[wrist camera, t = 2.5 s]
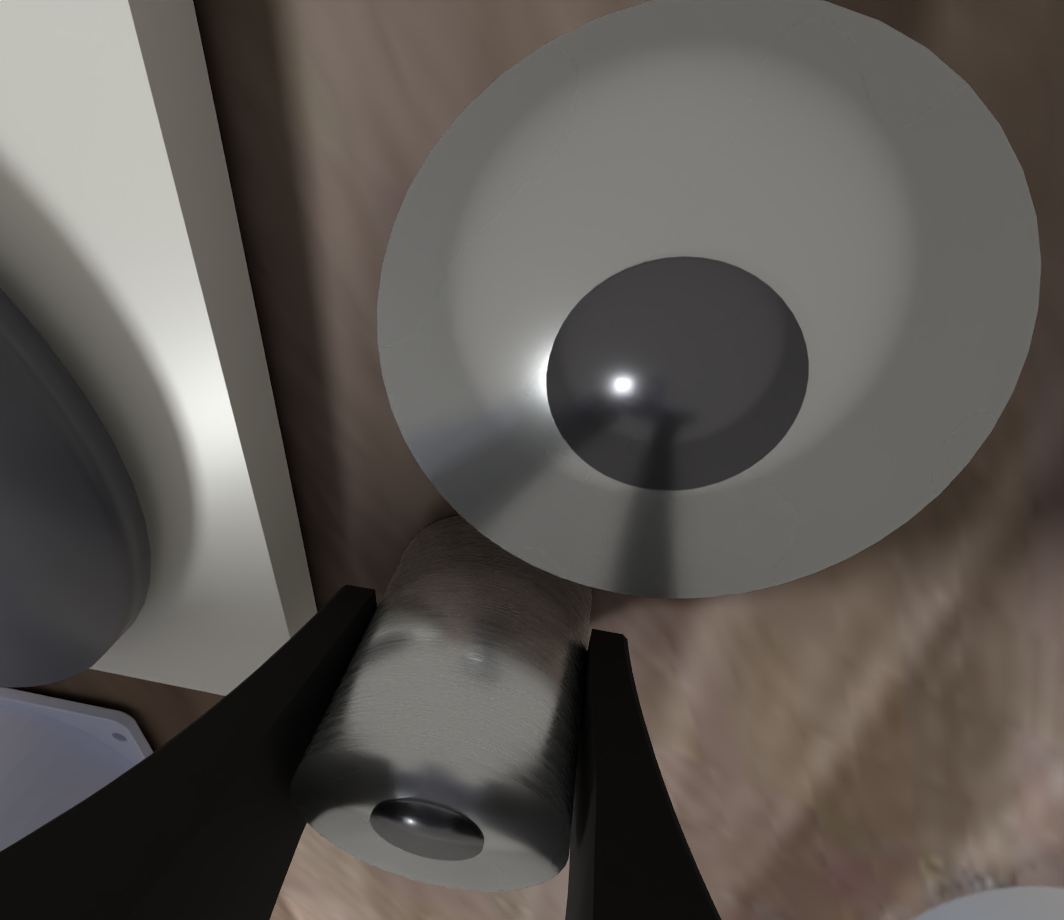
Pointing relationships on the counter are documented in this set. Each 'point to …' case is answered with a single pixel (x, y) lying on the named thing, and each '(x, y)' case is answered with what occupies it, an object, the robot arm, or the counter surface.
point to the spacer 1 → (456, 720)
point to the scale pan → (60, 519)
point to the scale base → (153, 319)
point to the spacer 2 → (708, 295)
